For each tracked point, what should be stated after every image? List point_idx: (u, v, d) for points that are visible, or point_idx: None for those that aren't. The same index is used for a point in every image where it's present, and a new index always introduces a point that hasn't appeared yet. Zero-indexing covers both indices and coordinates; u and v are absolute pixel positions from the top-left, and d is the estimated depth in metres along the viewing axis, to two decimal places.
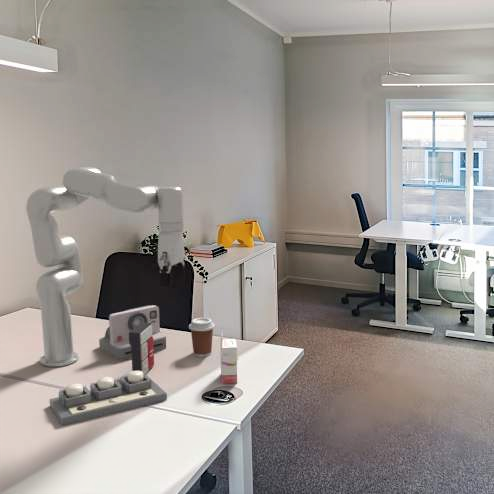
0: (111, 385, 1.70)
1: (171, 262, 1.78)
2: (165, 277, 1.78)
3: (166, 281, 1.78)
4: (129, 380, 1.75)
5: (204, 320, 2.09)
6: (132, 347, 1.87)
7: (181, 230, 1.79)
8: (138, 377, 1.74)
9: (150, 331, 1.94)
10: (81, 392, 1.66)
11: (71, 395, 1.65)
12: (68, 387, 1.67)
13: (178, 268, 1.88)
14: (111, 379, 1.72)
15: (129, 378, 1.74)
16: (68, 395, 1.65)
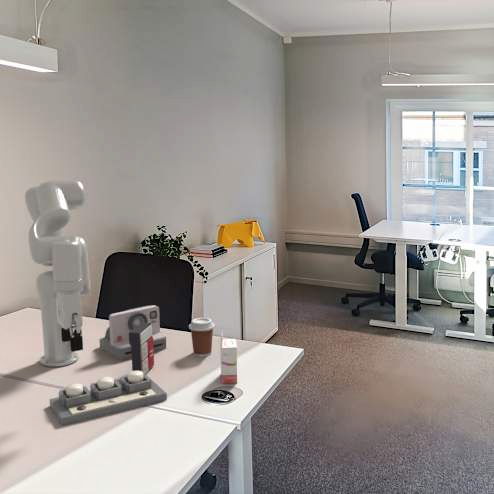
0: (111, 385, 1.70)
1: None
2: (78, 341, 1.60)
3: (79, 345, 1.60)
4: (129, 380, 1.75)
5: (204, 320, 2.09)
6: (132, 347, 1.87)
7: (82, 286, 1.63)
8: (138, 377, 1.74)
9: (150, 331, 1.94)
10: (81, 392, 1.66)
11: (71, 395, 1.65)
12: (68, 387, 1.67)
13: (67, 329, 1.68)
14: (111, 379, 1.72)
15: (129, 378, 1.74)
16: (68, 395, 1.65)
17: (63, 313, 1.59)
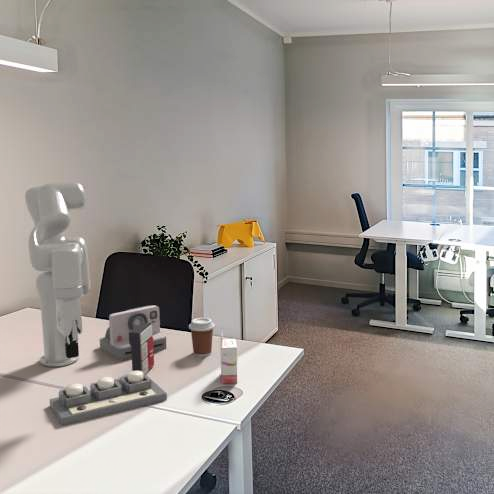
0: (111, 385, 1.70)
1: (81, 330, 1.61)
2: (74, 348, 1.64)
3: (75, 352, 1.64)
4: (129, 380, 1.75)
5: (204, 320, 2.09)
6: (132, 347, 1.87)
7: None
8: (138, 377, 1.74)
9: (150, 331, 1.94)
10: (81, 392, 1.66)
11: (71, 395, 1.65)
12: (68, 387, 1.67)
13: None
14: (111, 379, 1.72)
15: (129, 378, 1.74)
16: (68, 395, 1.65)
17: (63, 320, 1.59)
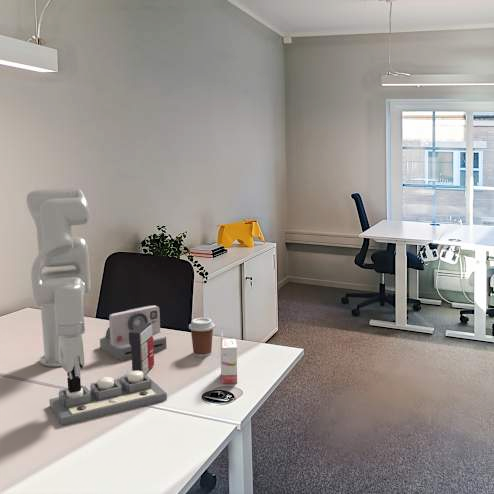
0: (111, 385, 1.70)
1: (83, 366, 1.63)
2: (76, 382, 1.65)
3: (77, 386, 1.66)
4: (129, 380, 1.75)
5: (204, 320, 2.09)
6: (132, 347, 1.87)
7: None
8: (138, 377, 1.74)
9: (150, 331, 1.94)
10: None
11: None
12: (68, 391, 1.67)
13: None
14: (111, 379, 1.72)
15: (129, 378, 1.74)
16: None
17: (65, 356, 1.61)
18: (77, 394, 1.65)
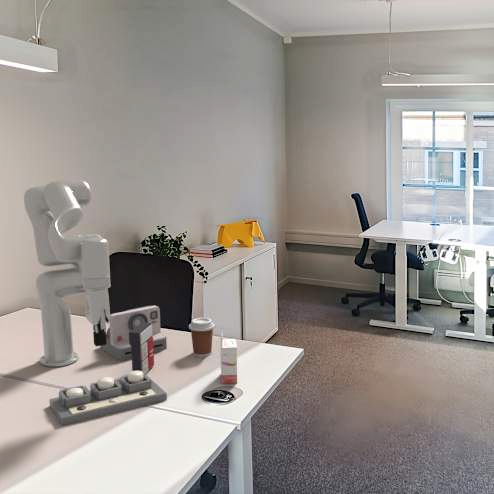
0: (111, 385, 1.70)
1: (109, 319, 1.64)
2: (102, 336, 1.67)
3: (103, 340, 1.68)
4: (129, 380, 1.75)
5: (204, 320, 2.09)
6: (132, 347, 1.87)
7: (110, 283, 1.67)
8: (138, 377, 1.74)
9: (150, 331, 1.94)
10: None
11: None
12: (68, 391, 1.67)
13: None
14: (111, 379, 1.72)
15: (129, 378, 1.74)
16: None
17: (91, 309, 1.63)
18: (77, 395, 1.65)
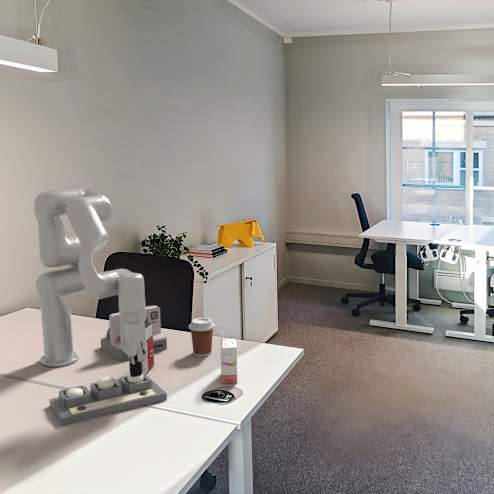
0: (111, 385, 1.70)
1: (146, 351, 1.71)
2: (138, 367, 1.74)
3: (139, 371, 1.75)
4: (129, 381, 1.75)
5: (204, 320, 2.09)
6: None
7: None
8: (138, 378, 1.74)
9: (150, 331, 1.94)
10: None
11: None
12: (68, 391, 1.67)
13: None
14: (111, 379, 1.72)
15: (129, 379, 1.74)
16: None
17: (129, 342, 1.69)
18: (77, 395, 1.65)
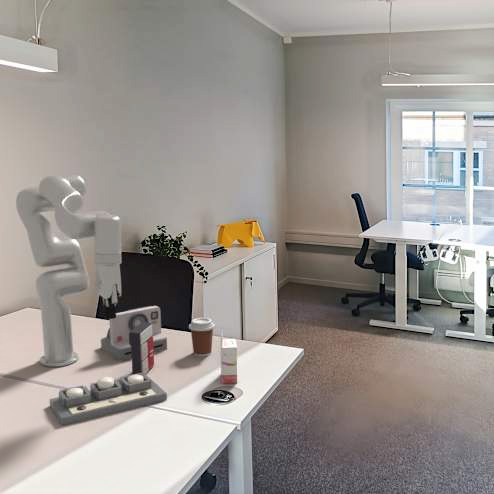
0: (111, 385, 1.70)
1: (120, 293, 1.71)
2: (112, 310, 1.74)
3: (113, 314, 1.75)
4: None
5: (204, 320, 2.09)
6: (132, 347, 1.87)
7: None
8: (138, 381, 1.74)
9: (150, 331, 1.94)
10: None
11: None
12: (68, 391, 1.67)
13: None
14: (111, 379, 1.72)
15: (129, 382, 1.75)
16: None
17: (104, 284, 1.69)
18: (77, 395, 1.65)
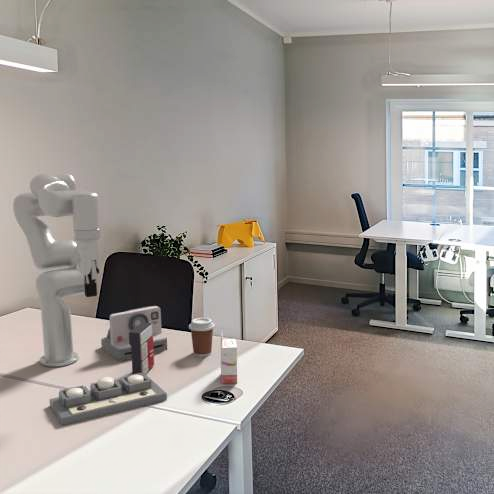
0: (111, 385, 1.70)
1: (100, 270, 1.71)
2: (92, 287, 1.74)
3: (93, 291, 1.75)
4: None
5: (204, 320, 2.09)
6: (132, 347, 1.87)
7: None
8: (138, 381, 1.74)
9: (150, 331, 1.94)
10: None
11: None
12: (68, 391, 1.67)
13: None
14: (111, 379, 1.72)
15: (129, 382, 1.75)
16: None
17: (83, 260, 1.69)
18: (77, 395, 1.65)
